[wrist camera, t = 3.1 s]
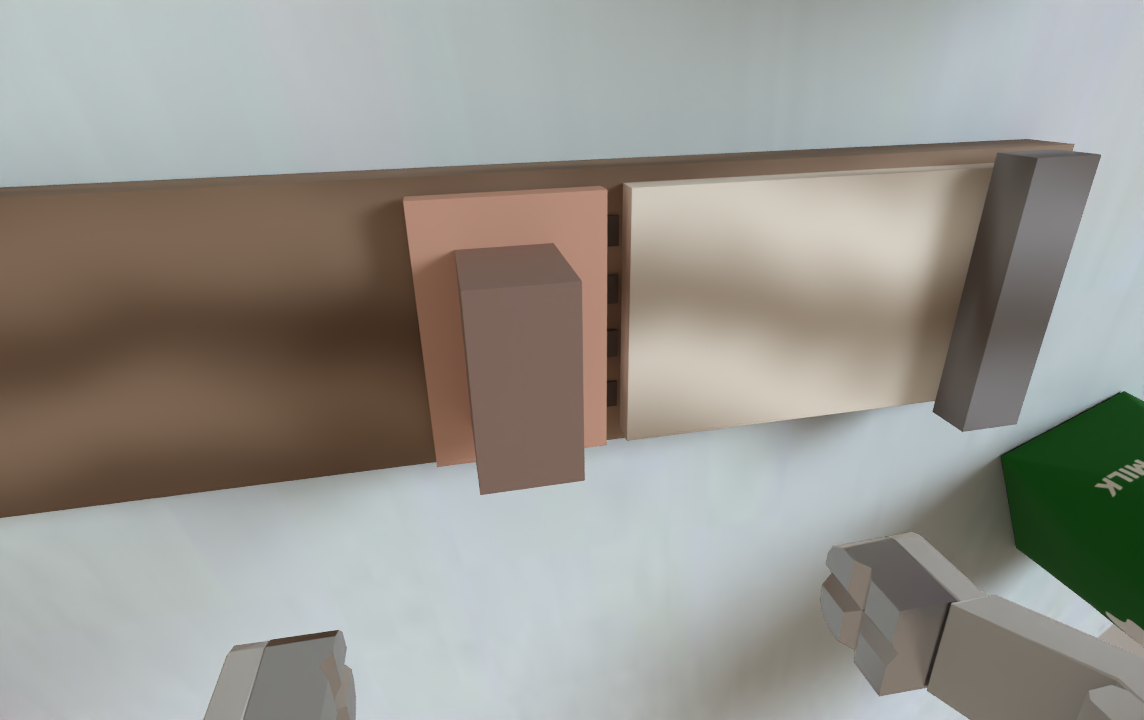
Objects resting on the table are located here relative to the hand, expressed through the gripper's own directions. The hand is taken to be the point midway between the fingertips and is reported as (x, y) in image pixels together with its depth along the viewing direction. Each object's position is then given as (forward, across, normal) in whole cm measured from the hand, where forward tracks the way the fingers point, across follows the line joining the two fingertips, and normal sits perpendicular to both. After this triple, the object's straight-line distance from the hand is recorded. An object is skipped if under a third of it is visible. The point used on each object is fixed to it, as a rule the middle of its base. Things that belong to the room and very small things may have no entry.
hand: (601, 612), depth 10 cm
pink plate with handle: (+12, 0, 0) cm, 12 cm away
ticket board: (+14, -2, -1) cm, 15 cm away
